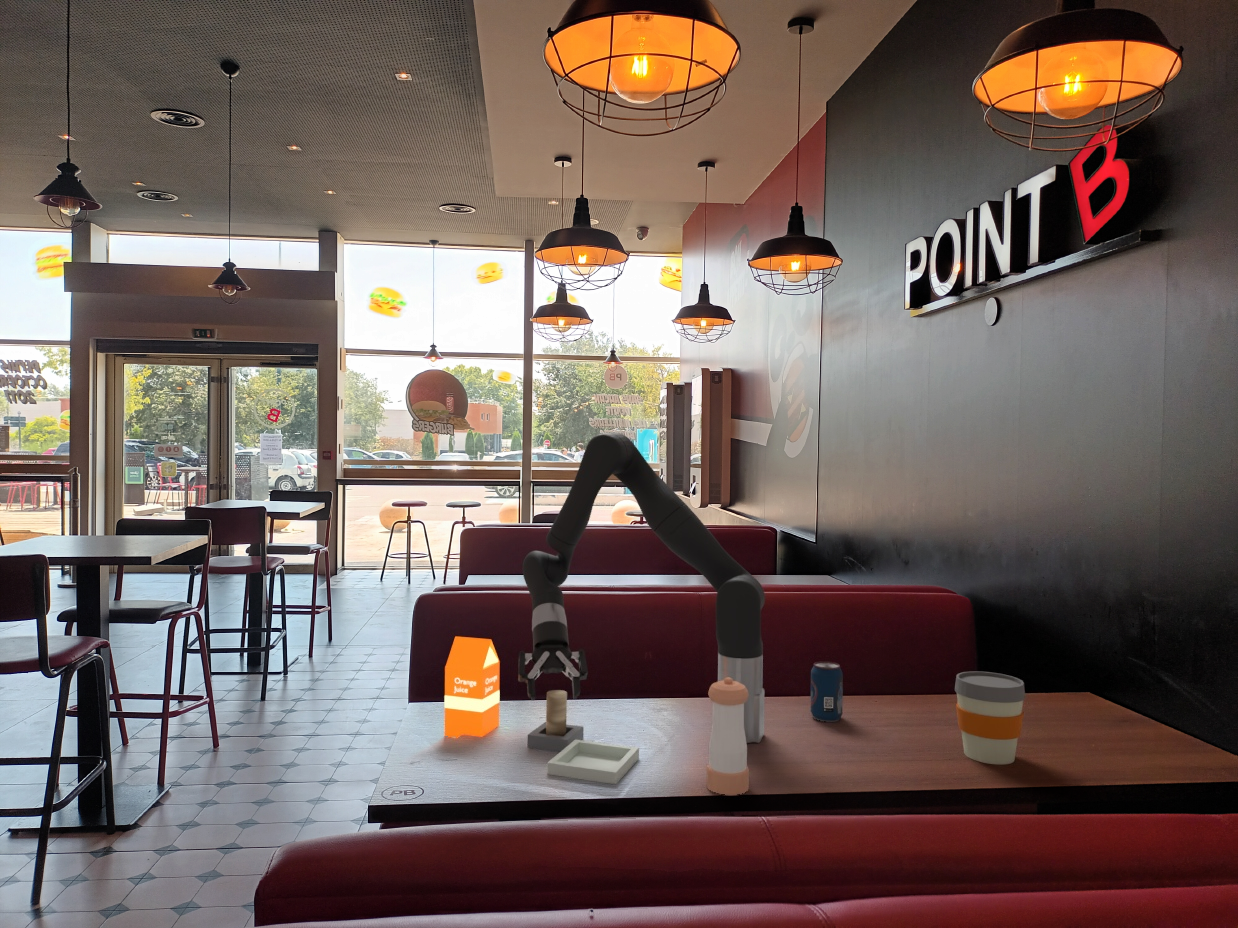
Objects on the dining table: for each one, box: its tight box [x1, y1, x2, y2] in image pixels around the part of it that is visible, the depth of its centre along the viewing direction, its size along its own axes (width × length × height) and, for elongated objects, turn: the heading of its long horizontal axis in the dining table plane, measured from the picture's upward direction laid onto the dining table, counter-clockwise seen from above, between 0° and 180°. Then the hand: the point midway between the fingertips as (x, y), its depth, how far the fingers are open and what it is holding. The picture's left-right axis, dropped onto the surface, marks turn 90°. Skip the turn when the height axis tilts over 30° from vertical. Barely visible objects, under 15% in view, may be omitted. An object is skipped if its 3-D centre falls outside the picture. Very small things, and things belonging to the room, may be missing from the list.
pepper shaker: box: [706, 677, 750, 796], centre depth 139 cm, size 7×7×19 cm
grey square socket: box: [526, 721, 584, 753], centre depth 158 cm, size 8×8×4 cm
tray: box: [546, 739, 640, 785], centre depth 146 cm, size 13×13×3 cm
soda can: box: [810, 661, 844, 723], centre depth 178 cm, size 7×7×12 cm
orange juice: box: [444, 636, 501, 739], centre depth 166 cm, size 8×9×20 cm
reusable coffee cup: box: [954, 670, 1026, 765], centre depth 156 cm, size 13×13×15 cm
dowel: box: [545, 689, 568, 736], centre depth 158 cm, size 4×4×10 cm
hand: (554, 697), depth 161 cm, fingers open, 8 cm apart
